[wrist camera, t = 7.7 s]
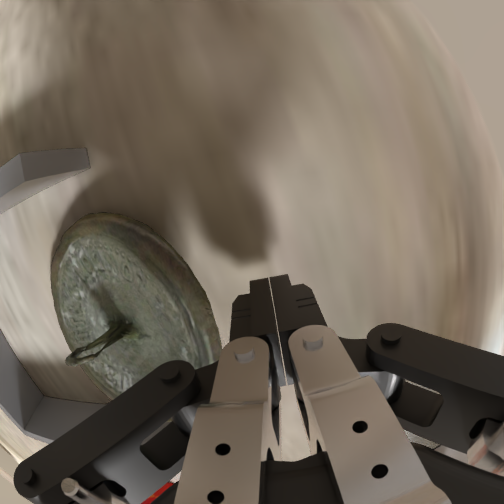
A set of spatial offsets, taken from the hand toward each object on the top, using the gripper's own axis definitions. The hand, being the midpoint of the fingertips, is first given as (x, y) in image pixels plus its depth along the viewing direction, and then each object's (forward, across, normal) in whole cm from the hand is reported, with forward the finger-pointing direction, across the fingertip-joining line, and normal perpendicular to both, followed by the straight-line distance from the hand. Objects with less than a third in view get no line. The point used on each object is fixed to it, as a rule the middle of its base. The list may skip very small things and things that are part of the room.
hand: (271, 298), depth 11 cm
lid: (+2, +7, 0) cm, 7 cm away
